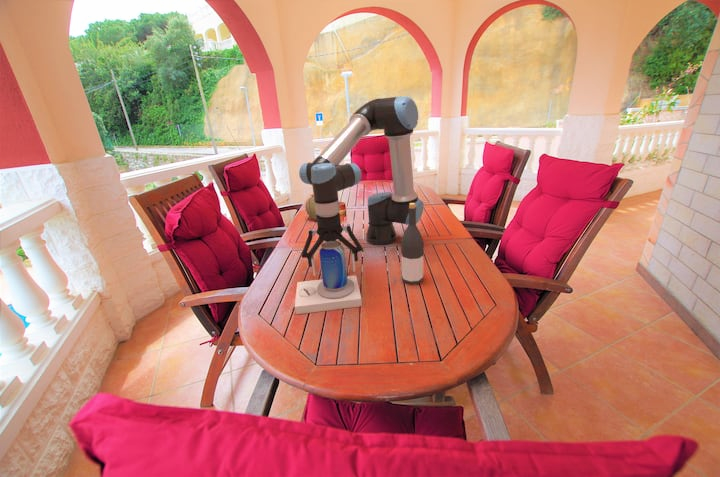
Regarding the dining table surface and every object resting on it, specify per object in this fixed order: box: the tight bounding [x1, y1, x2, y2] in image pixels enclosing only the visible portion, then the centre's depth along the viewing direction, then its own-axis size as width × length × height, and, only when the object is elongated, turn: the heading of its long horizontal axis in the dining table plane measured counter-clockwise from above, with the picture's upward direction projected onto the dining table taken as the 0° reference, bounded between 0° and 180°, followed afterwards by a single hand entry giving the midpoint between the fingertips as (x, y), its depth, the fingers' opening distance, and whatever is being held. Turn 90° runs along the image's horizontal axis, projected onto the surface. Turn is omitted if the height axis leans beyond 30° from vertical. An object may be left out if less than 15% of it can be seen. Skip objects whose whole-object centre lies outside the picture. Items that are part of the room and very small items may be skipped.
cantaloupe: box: [305, 194, 317, 220], centre depth 191 cm, size 15×15×15 cm
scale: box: [294, 275, 363, 315], centre depth 111 cm, size 22×16×4 cm
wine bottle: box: [400, 203, 425, 286], centre depth 114 cm, size 8×8×30 cm
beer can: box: [319, 240, 348, 291], centre depth 108 cm, size 8×8×16 cm
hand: (334, 272), depth 109 cm, fingers open, 13 cm apart
